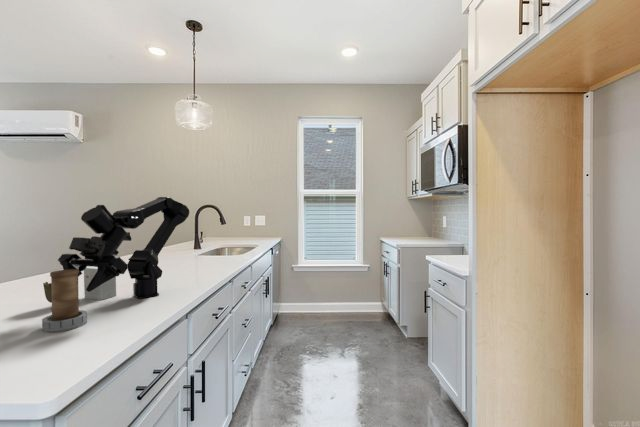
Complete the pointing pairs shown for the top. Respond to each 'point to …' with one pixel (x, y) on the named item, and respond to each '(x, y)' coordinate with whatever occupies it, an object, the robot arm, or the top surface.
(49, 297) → the ornate scalloped vase
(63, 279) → the brown cylinder
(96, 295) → the small box
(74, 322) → the ring
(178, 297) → the top surface
